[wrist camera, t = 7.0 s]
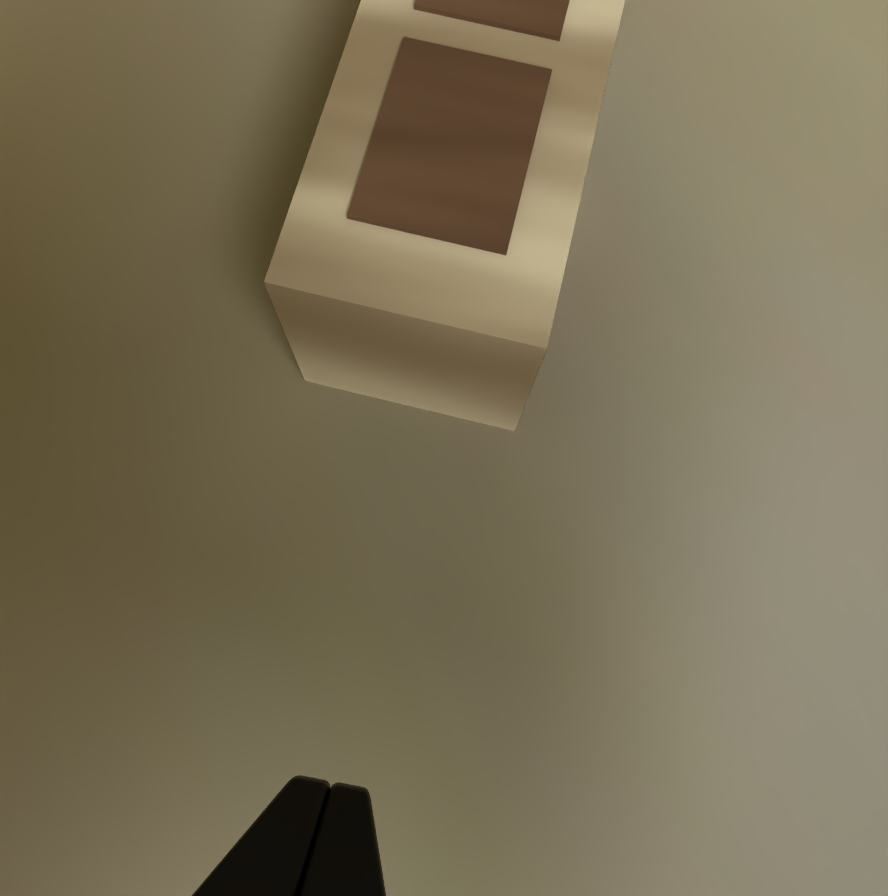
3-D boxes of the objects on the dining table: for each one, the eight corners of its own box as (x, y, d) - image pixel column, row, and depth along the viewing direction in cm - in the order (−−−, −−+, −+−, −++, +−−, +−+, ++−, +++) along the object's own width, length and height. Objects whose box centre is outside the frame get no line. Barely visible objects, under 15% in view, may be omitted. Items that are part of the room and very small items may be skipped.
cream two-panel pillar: (547, 346, 12) (672, -212, 15) (261, 278, 12) (448, -258, 15) (513, 434, 16) (615, -11, 19) (306, 384, 16) (442, -48, 19)
